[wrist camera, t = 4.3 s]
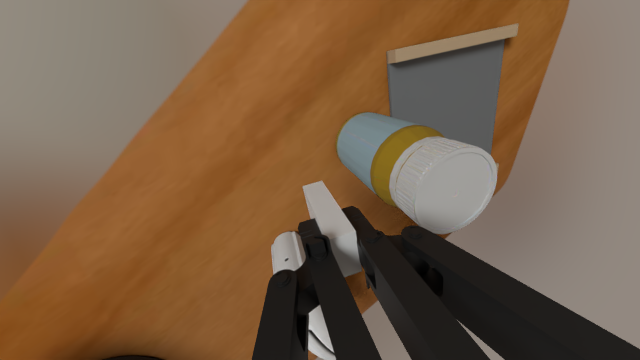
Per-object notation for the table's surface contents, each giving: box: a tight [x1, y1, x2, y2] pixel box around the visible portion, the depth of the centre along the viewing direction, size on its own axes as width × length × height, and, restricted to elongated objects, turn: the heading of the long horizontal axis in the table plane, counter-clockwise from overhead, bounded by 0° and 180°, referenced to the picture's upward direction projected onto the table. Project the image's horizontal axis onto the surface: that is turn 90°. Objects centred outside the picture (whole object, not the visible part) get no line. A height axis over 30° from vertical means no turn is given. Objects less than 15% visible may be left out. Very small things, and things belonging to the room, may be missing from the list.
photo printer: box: [271, 231, 336, 360], centre depth 27 cm, size 10×4×12 cm, turn 29°
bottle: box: [336, 112, 497, 234], centre depth 22 cm, size 7×7×15 cm
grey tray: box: [386, 24, 518, 171], centre depth 29 cm, size 15×18×2 cm
